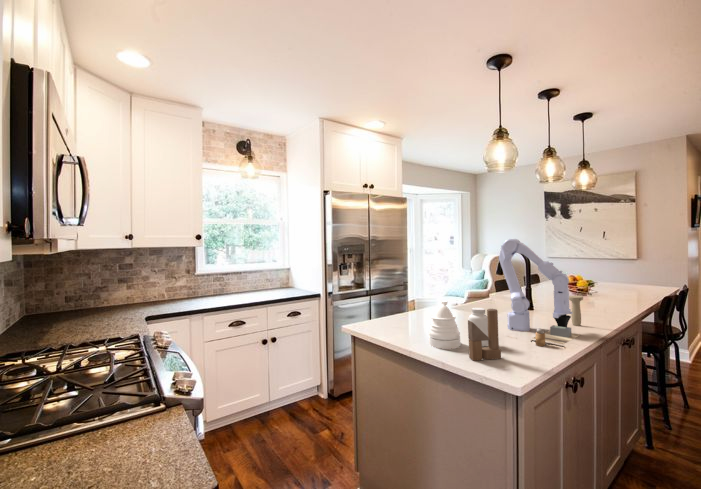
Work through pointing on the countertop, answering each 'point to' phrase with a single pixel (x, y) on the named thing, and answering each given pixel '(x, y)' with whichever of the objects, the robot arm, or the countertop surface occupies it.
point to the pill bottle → (480, 321)
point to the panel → (557, 339)
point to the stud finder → (560, 331)
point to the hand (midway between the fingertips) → (562, 331)
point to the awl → (540, 338)
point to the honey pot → (444, 329)
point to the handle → (576, 310)
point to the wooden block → (478, 336)
